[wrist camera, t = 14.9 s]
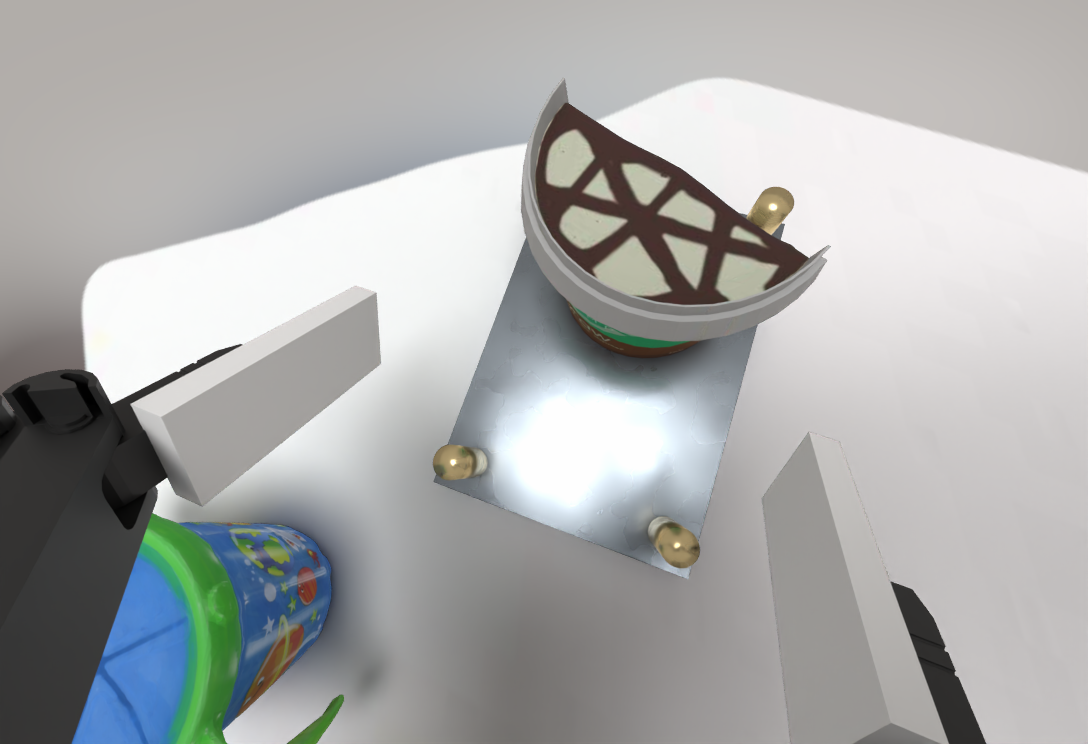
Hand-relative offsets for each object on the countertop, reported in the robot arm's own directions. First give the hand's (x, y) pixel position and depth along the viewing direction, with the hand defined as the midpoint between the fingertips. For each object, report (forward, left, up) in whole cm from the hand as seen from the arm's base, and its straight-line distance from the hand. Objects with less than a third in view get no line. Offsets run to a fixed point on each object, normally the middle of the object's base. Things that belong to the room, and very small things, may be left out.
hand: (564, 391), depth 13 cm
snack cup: (+13, +15, -12) cm, 23 cm away
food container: (0, -6, -11) cm, 13 cm away
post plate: (-1, -4, -12) cm, 13 cm away
